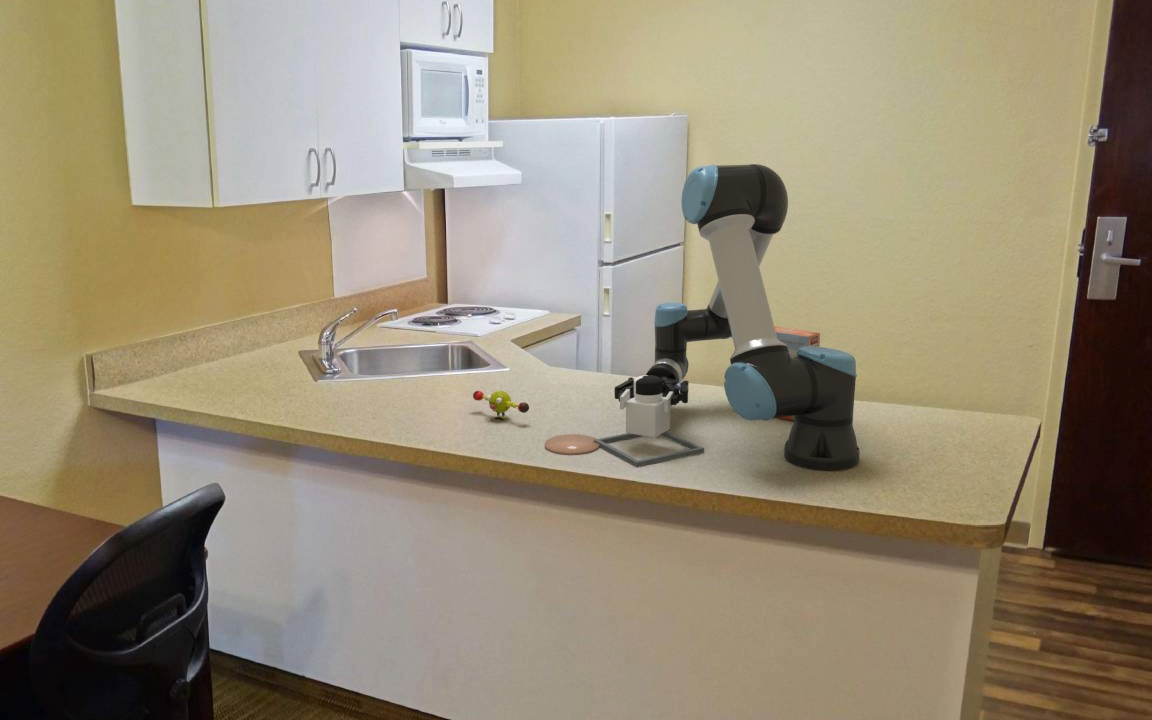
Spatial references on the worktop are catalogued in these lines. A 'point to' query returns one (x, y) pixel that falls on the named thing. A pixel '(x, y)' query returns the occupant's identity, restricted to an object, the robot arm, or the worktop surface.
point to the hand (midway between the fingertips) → (643, 404)
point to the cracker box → (796, 343)
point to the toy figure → (500, 402)
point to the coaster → (571, 444)
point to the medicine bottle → (647, 408)
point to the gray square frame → (692, 450)
